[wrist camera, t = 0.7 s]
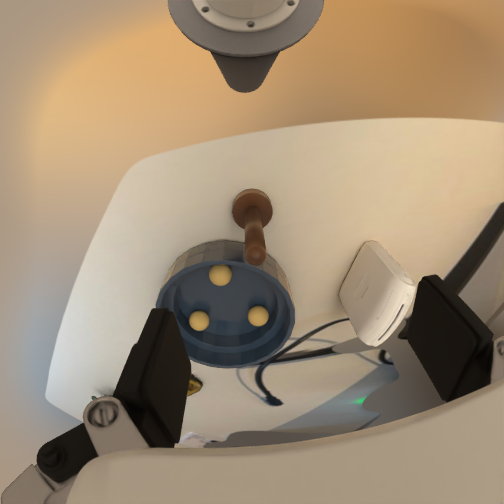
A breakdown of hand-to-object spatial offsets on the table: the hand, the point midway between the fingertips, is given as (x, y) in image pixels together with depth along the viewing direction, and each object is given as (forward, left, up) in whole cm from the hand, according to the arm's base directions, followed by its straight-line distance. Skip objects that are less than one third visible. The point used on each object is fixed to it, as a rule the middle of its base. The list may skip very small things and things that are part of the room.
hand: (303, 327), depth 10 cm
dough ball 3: (+20, -2, -25) cm, 32 cm away
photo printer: (+15, +13, -28) cm, 34 cm away
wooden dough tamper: (+4, -2, -27) cm, 28 cm away
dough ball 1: (+20, -11, -25) cm, 34 cm away
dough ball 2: (+12, -7, -25) cm, 29 cm away
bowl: (+17, -7, -27) cm, 33 cm away
